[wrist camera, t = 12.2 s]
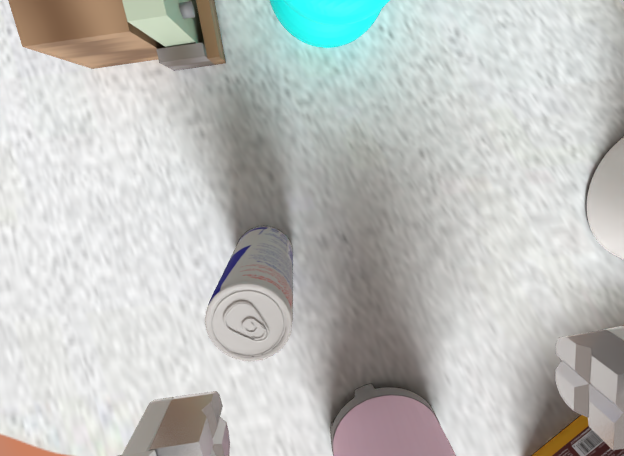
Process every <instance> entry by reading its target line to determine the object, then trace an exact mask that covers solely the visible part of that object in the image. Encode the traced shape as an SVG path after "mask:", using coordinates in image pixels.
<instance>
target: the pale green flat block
mask: <svg viewBox="0 0 624 456" xmlns="http://www.w3.org/2000/svg"><path fill="white" fill-rule="evenodd" d="M122 2H123V6H124V10H125V14H126V18H127V22H129V23H130V24H132V25H133V26H135V27H136V28H138V29H139V30H141V31H142V32H144V33H145V34H147V35H148V36H150V37H151V38H153V39H154V40H156V41H157V42H159V43H160V44H162V45H163V46H165V47H166V48H167V47H174V46H181V45H188V44H195V43H203V44H204V39H203V33H202V28H201V24H200V19H199V14H198V9H197V4H196V0H122ZM204 45H205V44H204Z"/></svg>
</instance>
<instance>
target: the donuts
mask: <svg viewBox="0 0 624 456" xmlns="http://www.w3.org/2000/svg"><path fill="white" fill-rule="evenodd" d="M389 1H390V0H270V2H271V5H272V8H273V10H274V13H275V14H276V16H277V18H278V20H279V21H280V22H281V24H282V25H283V26H284V28H285V29H286V30H287V31H288V32H289V33H290V34H292V35H293V36H294V37H296V38H297V39H299V40H300V41H302V42H304V43H307V44H309V45H312V46H316V47H324V48H331V47H338V46H342V45H345V44H348V43H350V42H352V41H354V40H356V39H357V38H359V37H360V36H361V35H363V34H364V33H365V32H366V31H367V30H368V29H369V28H370V27H371V25H372V24H373V23H374V21H375V20H376V18H377V17H378V15H379V13H380V11H381V9H382V8H383V7H384V6H385V5H386V4H387V3H388V2H389Z"/></svg>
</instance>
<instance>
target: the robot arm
mask: <svg viewBox="0 0 624 456" xmlns="http://www.w3.org/2000/svg"><path fill="white" fill-rule="evenodd" d="M587 217H588V222H589V225H590V228H591V231H592V233H593V235H594V237H595V238H596V240H597V241H598V242H599V244H600V245H601V246H602V247H603V248H604V249H606V250H607V251H608V252H610V253H611V254H613V255H615V256H617V257H619V258H621V259H623V260H624V137H623V138H622V139H621V140H619V141H618V142H617V143H616V144H615V145H614V146H613V147H612V148H611V149H610V150H609V151H608V153H607V154H606V155H605V157H604V158H603V159H602V161H601V162H600V164H599V166H598V167H597V169H596V171H595V173H594V176H593V178H592V181H591V183H590V187H589V191H588V197H587ZM556 354H557V356H558V357H559V358H560V359H561V360H562V361H561V362H560V364H559V365H558V367H557V368H556V369H555V379H556V385H557V388H558V390H559V393H560V395H561V397H562V398H563V400H564V401H565V403H566V404H567V405H568V406H569V407H570V408H571V409H572V410H573V411H574V412H576V413H578V414H581V415H583V416H585V417H587V418H588V425H589V427H590V428H591V429H592V430H593V431H594V432H595V433H596V434H597V435H598V436H599V437H600V438H601V439H602V440H603V441H604V442H605V443H606V444H607V445H608V446H609V447H610V448H611V449H612V450H619V449H624V326H618V327H613V328H608V329H602V330H600V331H594V332H588V333H583V334H577V335H571V336H565V337H559V338H558V340H557V342H556ZM222 407H223V406H222V402H221V398H220V395H219V393H218V392H217V391H213V392H206V393H199V394H191V395H184V396H176V397H169V398H163V399H157V400H153V401H152V402H150V403H149V405H148V407H147V409H146V410H145V412H144V414H143V416H142V418H141V420H140V422H139V424H138V425H137V427H136V429H135V431H134V433H133V435H132V437H131V439H130V441H129V442H128V444H127V446H126V448H125V450H124V452H123V454H122V455H119V456H229V449H230V440H229V431H228V427H227V422H226V421H224V420H223V419H222V418H221V417H220V415H221V411H222Z"/></svg>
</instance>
